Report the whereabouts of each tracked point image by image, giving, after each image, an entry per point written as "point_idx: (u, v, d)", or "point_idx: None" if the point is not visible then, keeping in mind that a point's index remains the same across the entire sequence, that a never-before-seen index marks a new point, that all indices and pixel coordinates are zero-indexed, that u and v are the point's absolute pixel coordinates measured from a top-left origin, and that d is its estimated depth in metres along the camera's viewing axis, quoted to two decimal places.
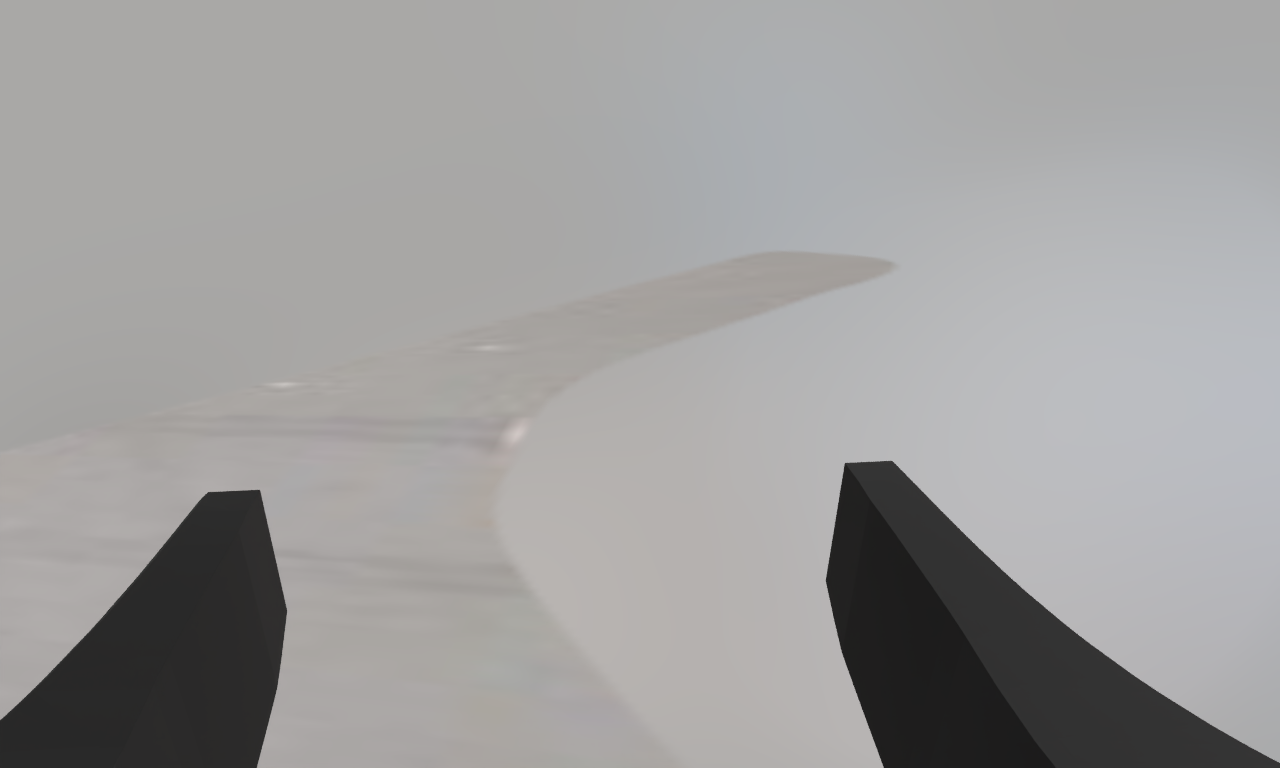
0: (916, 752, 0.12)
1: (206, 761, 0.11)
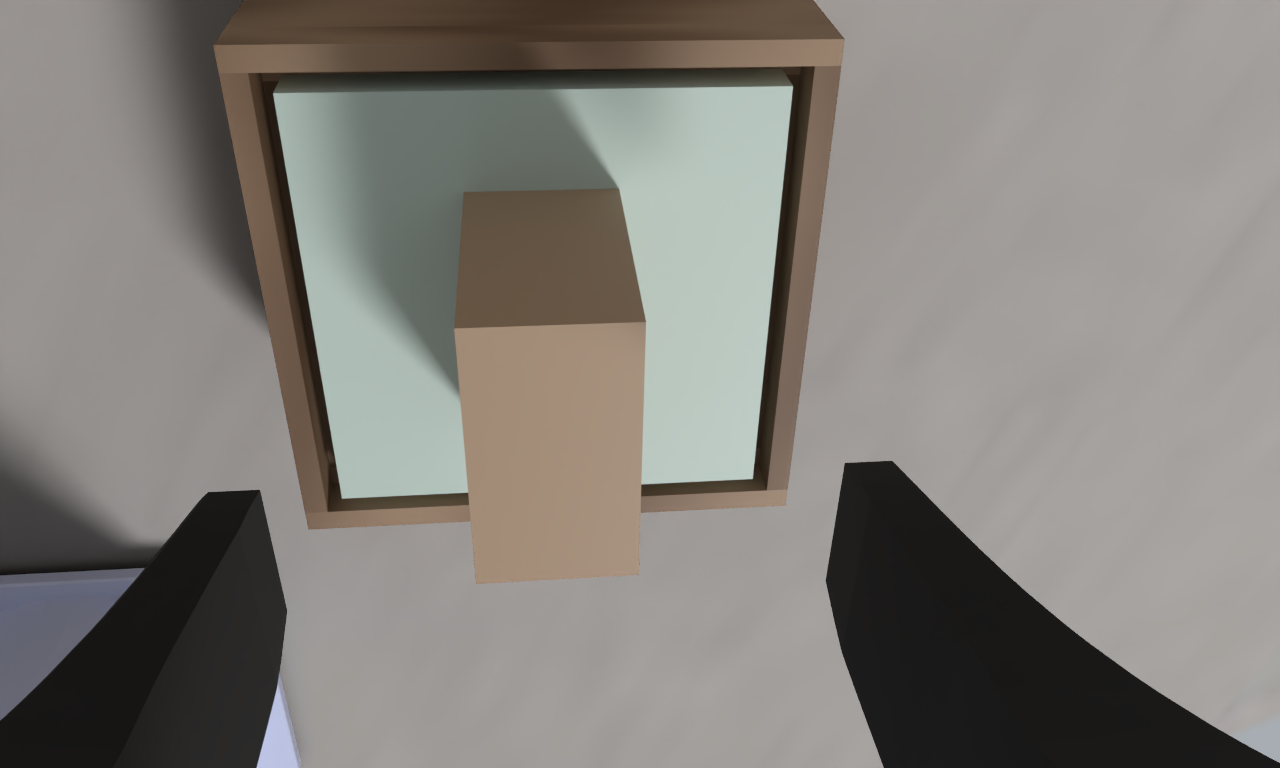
0: (916, 752, 0.12)
1: (206, 762, 0.11)
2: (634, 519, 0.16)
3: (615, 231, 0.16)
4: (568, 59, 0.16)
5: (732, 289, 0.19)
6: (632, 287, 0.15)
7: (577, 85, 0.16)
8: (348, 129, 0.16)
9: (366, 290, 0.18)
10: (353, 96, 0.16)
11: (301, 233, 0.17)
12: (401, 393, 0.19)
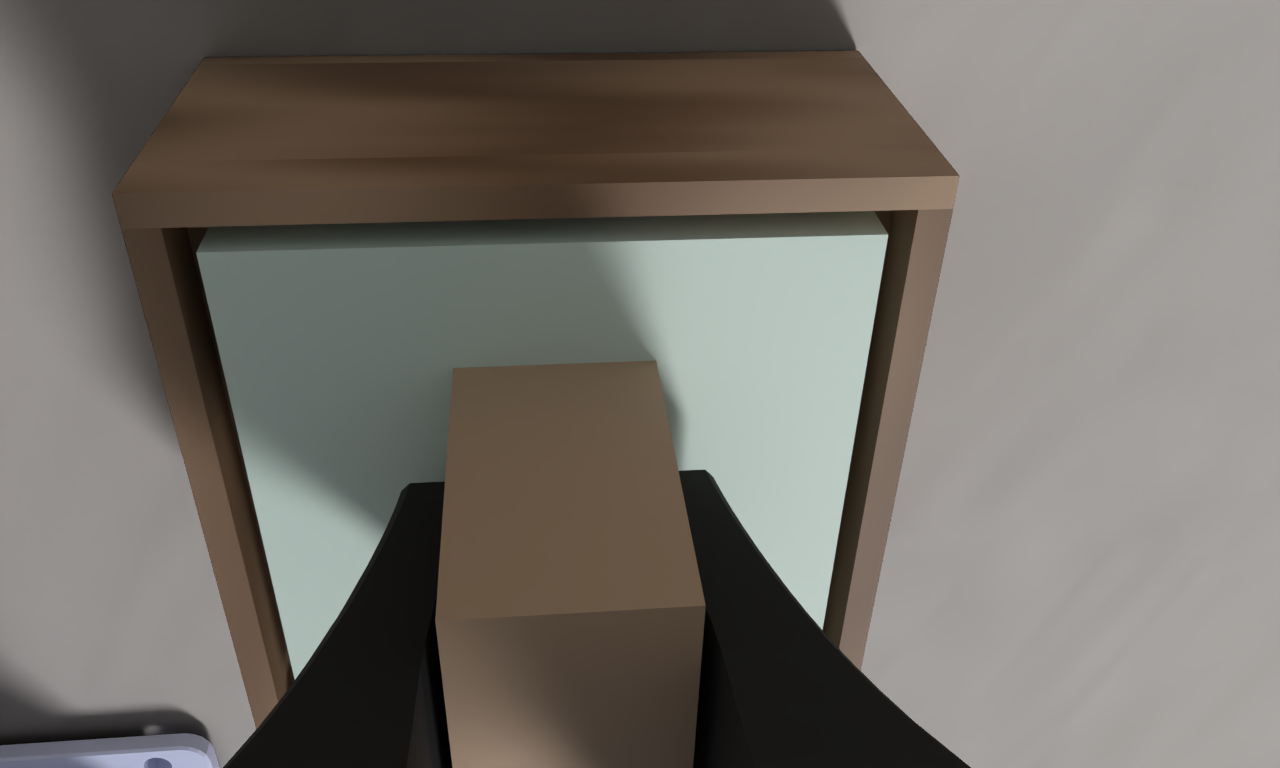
0: None
1: (440, 745, 0.11)
2: None
3: (655, 435, 0.12)
4: (592, 205, 0.12)
5: (798, 475, 0.14)
6: (683, 539, 0.11)
7: (603, 235, 0.12)
8: (299, 294, 0.12)
9: (327, 485, 0.14)
10: (304, 254, 0.12)
11: (241, 419, 0.13)
12: None
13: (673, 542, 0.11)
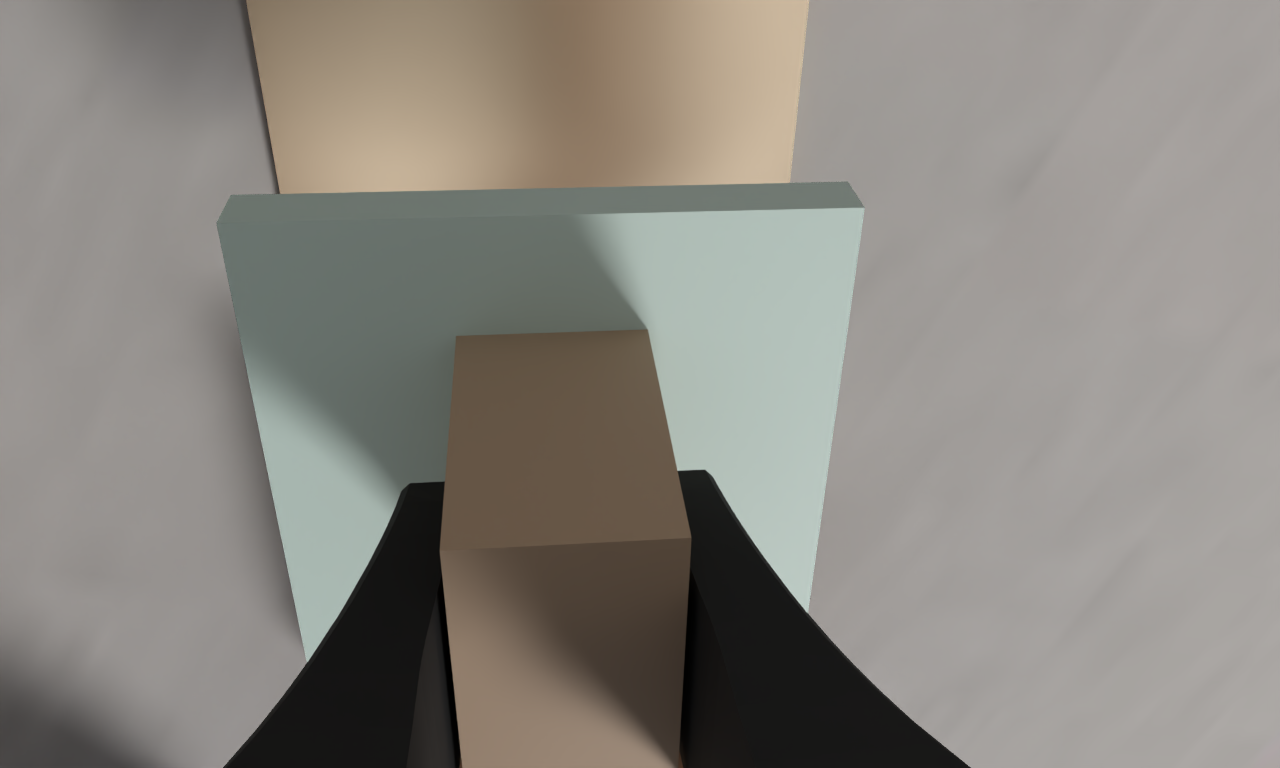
0: None
1: (439, 745, 0.11)
2: (670, 761, 0.13)
3: (646, 394, 0.13)
4: None
5: (783, 442, 0.15)
6: (671, 482, 0.11)
7: (597, 208, 0.13)
8: (311, 264, 0.13)
9: (337, 451, 0.15)
10: (317, 225, 0.13)
11: (255, 386, 0.14)
12: None
13: (662, 484, 0.11)
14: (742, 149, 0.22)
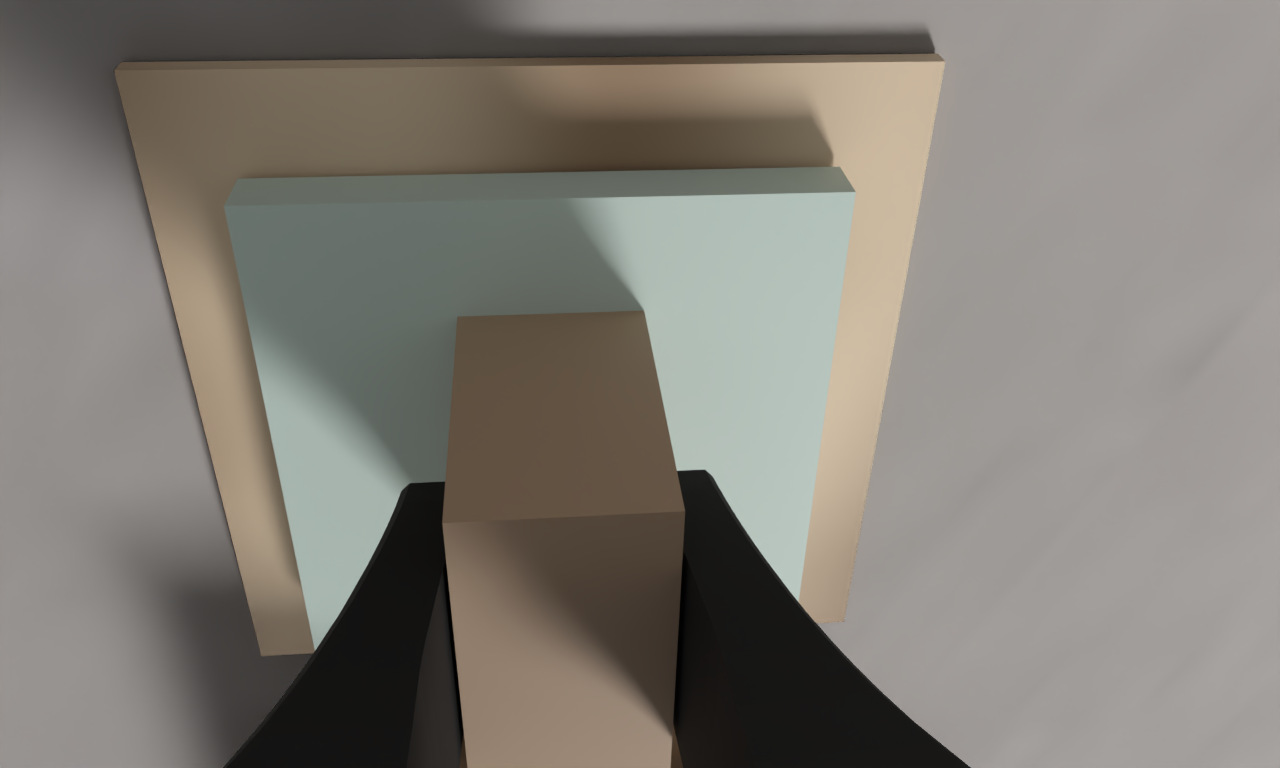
0: None
1: (440, 745, 0.11)
2: (665, 728, 0.13)
3: (642, 373, 0.13)
4: None
5: (776, 421, 0.16)
6: (666, 457, 0.12)
7: (595, 192, 0.14)
8: (317, 246, 0.13)
9: (341, 429, 0.15)
10: (322, 208, 0.13)
11: (262, 365, 0.14)
12: None
13: (657, 460, 0.12)
14: None
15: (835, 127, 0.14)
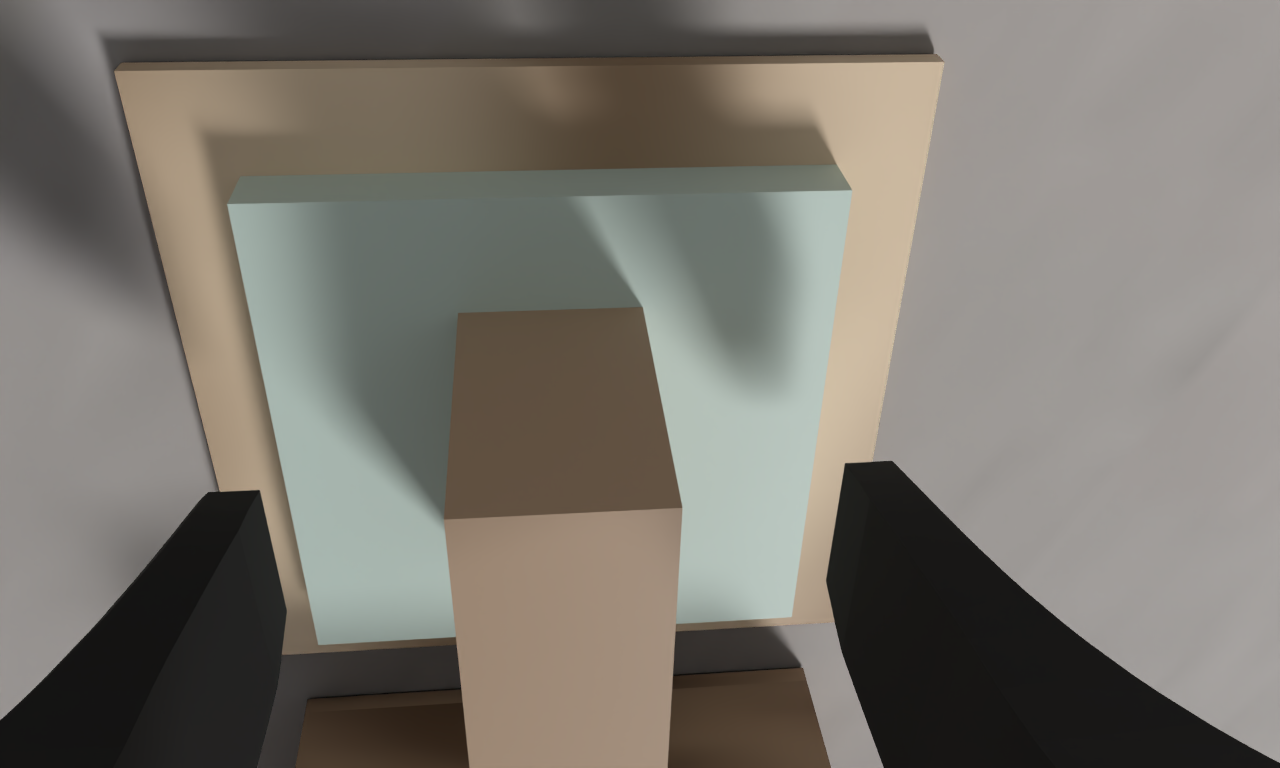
0: (916, 753, 0.12)
1: (206, 762, 0.11)
2: (663, 719, 0.13)
3: (640, 370, 0.13)
4: None
5: (774, 416, 0.16)
6: (663, 454, 0.12)
7: (594, 190, 0.14)
8: (318, 243, 0.14)
9: (343, 423, 0.15)
10: (324, 206, 0.13)
11: (265, 360, 0.14)
12: (386, 533, 0.16)
13: (655, 457, 0.12)
14: None
15: (834, 127, 0.14)
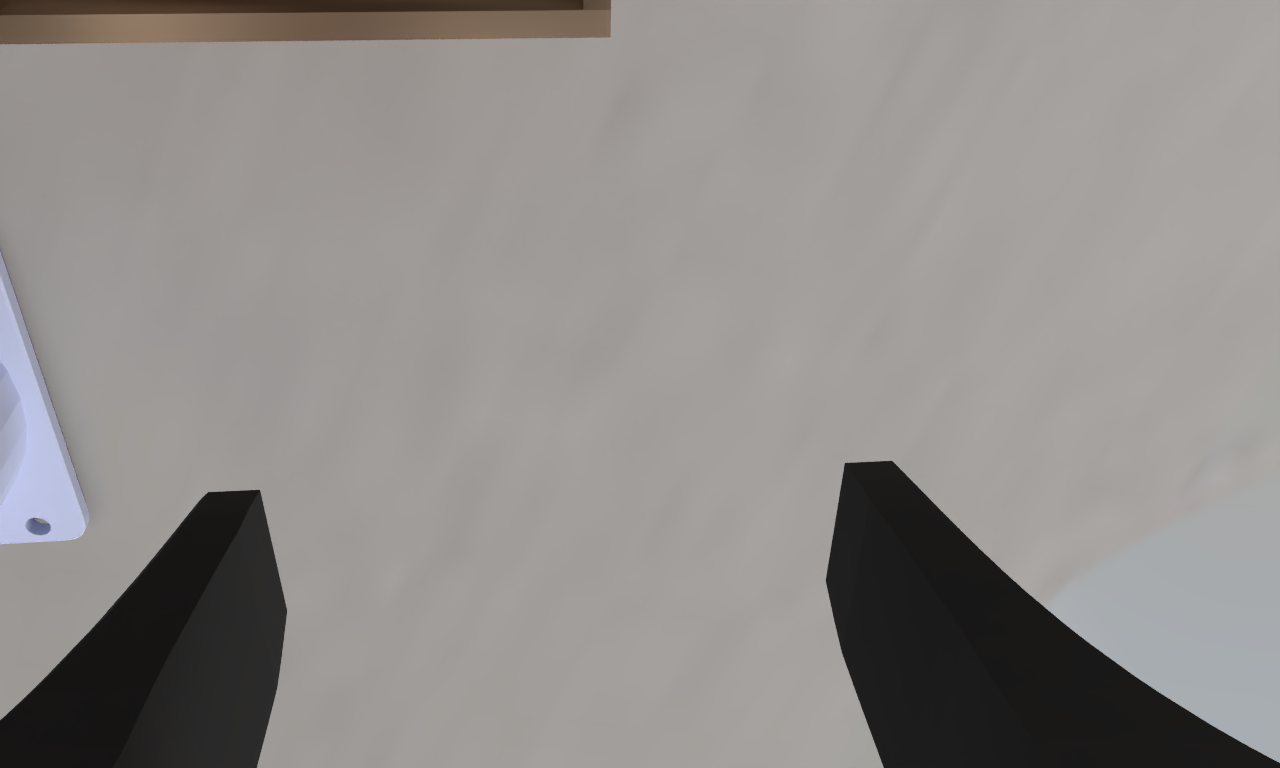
0: (916, 752, 0.12)
1: (206, 761, 0.11)
2: None
3: None
4: None
5: None
6: None
7: None
8: None
9: None
10: None
11: None
12: None
13: None
14: None
15: None
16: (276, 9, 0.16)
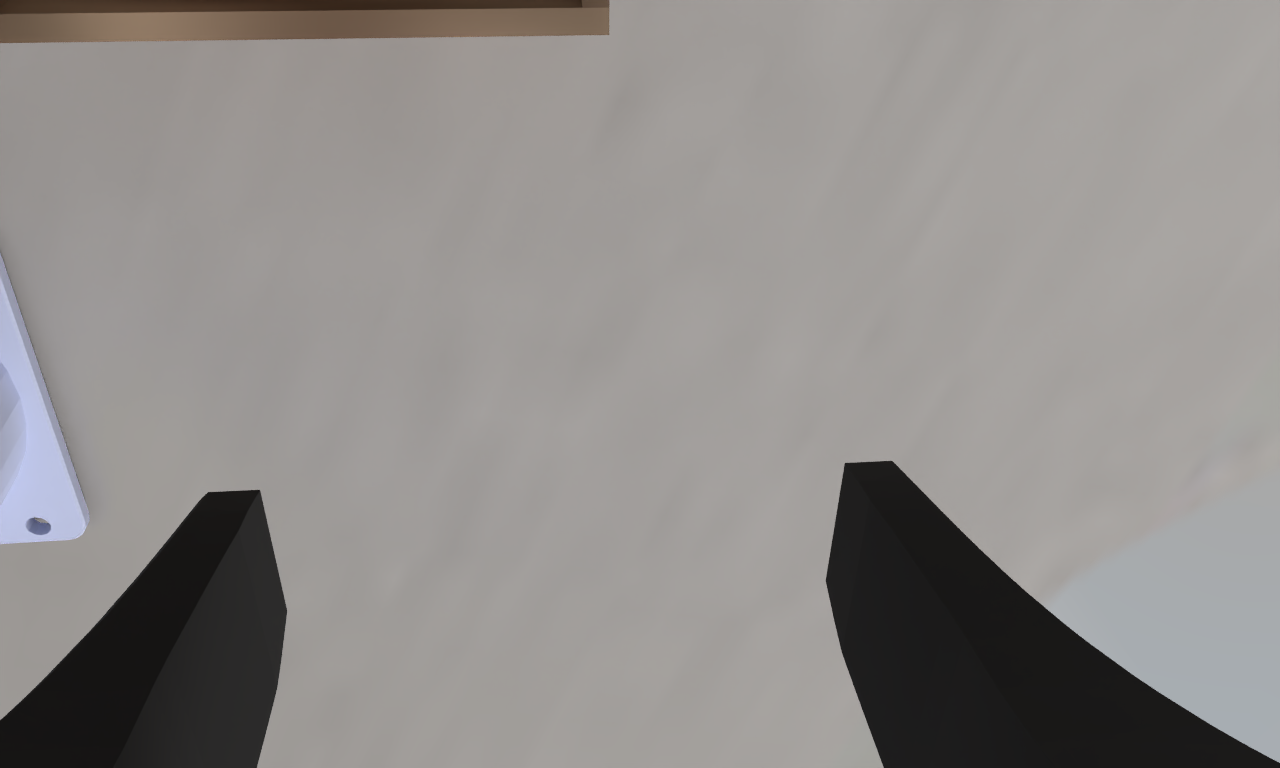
0: (916, 752, 0.12)
1: (206, 761, 0.11)
2: None
3: None
4: None
5: None
6: None
7: None
8: None
9: None
10: None
11: None
12: None
13: None
14: None
15: None
16: (274, 7, 0.16)
